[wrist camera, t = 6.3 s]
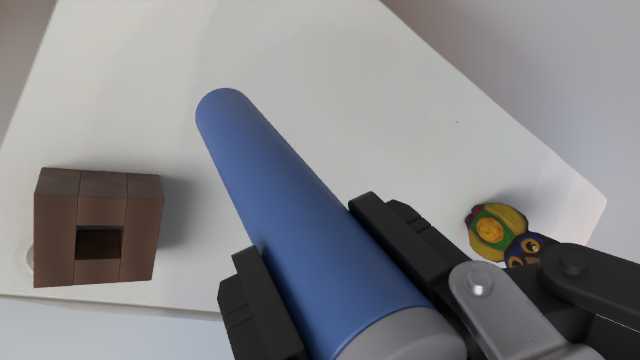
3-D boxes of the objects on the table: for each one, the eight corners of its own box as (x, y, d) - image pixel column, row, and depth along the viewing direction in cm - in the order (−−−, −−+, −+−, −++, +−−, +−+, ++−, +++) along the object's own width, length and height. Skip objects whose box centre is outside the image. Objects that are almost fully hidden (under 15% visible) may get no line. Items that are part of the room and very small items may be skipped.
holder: (40, 255, 41) (33, 288, 37) (41, 167, 37) (33, 194, 33) (147, 251, 46) (151, 280, 42) (159, 174, 42) (164, 199, 38)
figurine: (480, 188, 68) (556, 240, 56) (501, 197, 72) (576, 247, 60) (449, 233, 71) (515, 291, 59) (471, 239, 75) (537, 294, 63)
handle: (190, 139, 20) (321, 461, 7) (199, 82, 19) (372, 350, 6) (246, 145, 21) (434, 422, 9) (258, 93, 20) (492, 326, 8)
